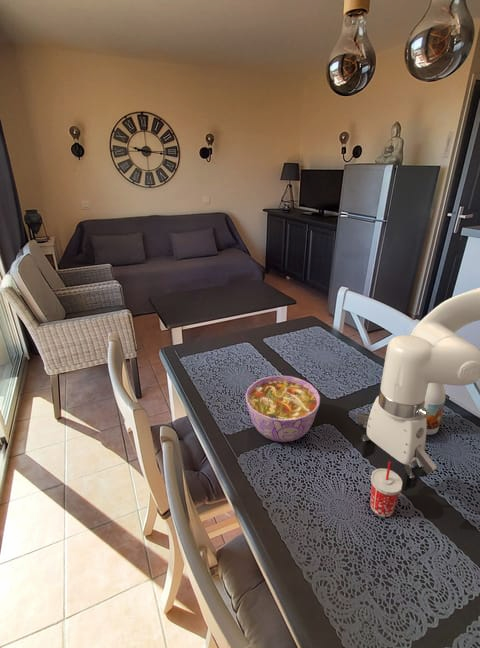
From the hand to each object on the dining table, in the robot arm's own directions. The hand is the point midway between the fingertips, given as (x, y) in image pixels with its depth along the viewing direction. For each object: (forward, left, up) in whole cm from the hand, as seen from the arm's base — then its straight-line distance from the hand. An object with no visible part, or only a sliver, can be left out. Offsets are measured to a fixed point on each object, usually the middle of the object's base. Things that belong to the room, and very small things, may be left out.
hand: (386, 470), depth 73 cm
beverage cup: (0, 0, -12) cm, 12 cm away
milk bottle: (-18, -27, -12) cm, 35 cm away
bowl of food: (+21, -24, -12) cm, 34 cm away
